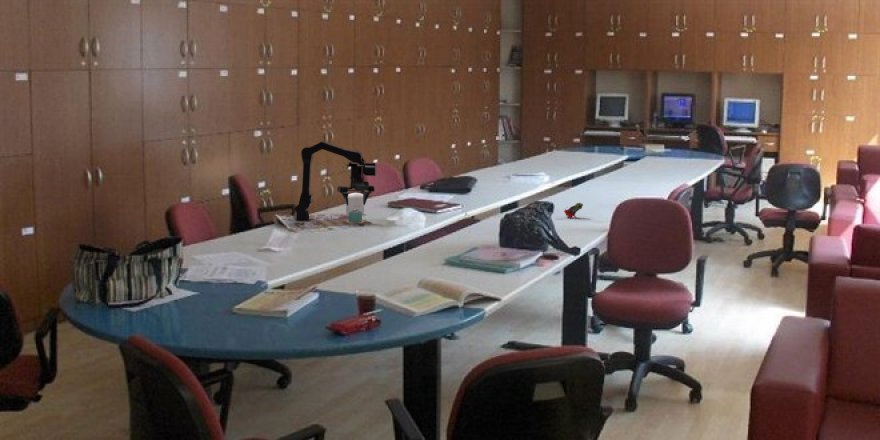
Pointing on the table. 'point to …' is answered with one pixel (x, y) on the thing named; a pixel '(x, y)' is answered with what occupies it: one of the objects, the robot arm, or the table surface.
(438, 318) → the table surface
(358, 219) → the collar
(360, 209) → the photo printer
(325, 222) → the base board
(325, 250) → the table surface
